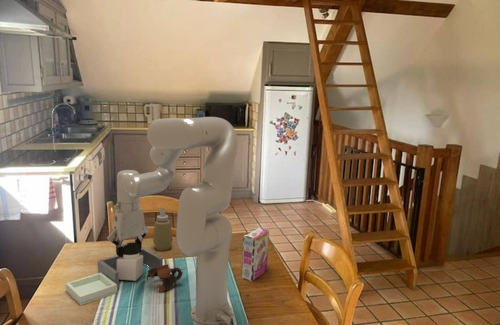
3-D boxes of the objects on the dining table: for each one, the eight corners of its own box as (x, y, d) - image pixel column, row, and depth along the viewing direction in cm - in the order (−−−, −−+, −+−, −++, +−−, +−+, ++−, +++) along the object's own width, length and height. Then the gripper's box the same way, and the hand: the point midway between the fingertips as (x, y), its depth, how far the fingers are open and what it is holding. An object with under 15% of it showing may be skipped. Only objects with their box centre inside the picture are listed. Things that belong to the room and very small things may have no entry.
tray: (117, 292, 130) (117, 284, 130) (80, 305, 122) (80, 297, 122) (101, 279, 139) (100, 272, 138) (65, 291, 130) (65, 283, 130)
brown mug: (150, 295, 129) (144, 270, 131) (151, 294, 138) (145, 271, 140) (186, 283, 132) (179, 259, 134) (184, 283, 141) (178, 261, 143)
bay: (162, 273, 145) (162, 258, 144) (115, 290, 132) (114, 273, 131) (144, 262, 154) (143, 247, 153) (98, 276, 141) (97, 260, 140)
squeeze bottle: (176, 247, 169) (176, 207, 166) (163, 254, 162) (162, 211, 159) (162, 243, 173) (162, 204, 170) (149, 249, 166) (148, 208, 163)
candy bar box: (253, 282, 140) (254, 238, 137) (241, 278, 143) (242, 235, 140) (267, 271, 150) (269, 229, 147) (256, 267, 152) (257, 227, 149)
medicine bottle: (143, 274, 144) (143, 241, 144) (135, 280, 137) (136, 246, 136) (124, 272, 145) (125, 240, 144) (115, 279, 138) (116, 245, 137)
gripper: (110, 212, 129) (111, 264, 133) (156, 203, 142) (155, 250, 145) (99, 207, 135) (101, 256, 138) (145, 199, 147) (145, 244, 150)
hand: (129, 253), depth 141 cm, fingers closed on medicine bottle, 6 cm apart
